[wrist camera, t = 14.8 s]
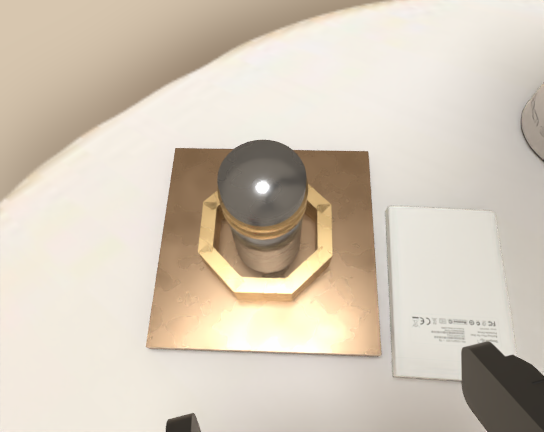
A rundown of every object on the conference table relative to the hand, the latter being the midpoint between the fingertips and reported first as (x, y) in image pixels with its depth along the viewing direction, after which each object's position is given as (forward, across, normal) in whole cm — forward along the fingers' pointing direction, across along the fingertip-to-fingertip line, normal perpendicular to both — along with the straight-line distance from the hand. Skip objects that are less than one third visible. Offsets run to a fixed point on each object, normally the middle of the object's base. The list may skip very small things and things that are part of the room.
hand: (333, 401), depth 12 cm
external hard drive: (+16, -12, +9) cm, 22 cm away
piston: (+20, 0, +4) cm, 20 cm away
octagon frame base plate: (+20, 0, +4) cm, 21 cm away
